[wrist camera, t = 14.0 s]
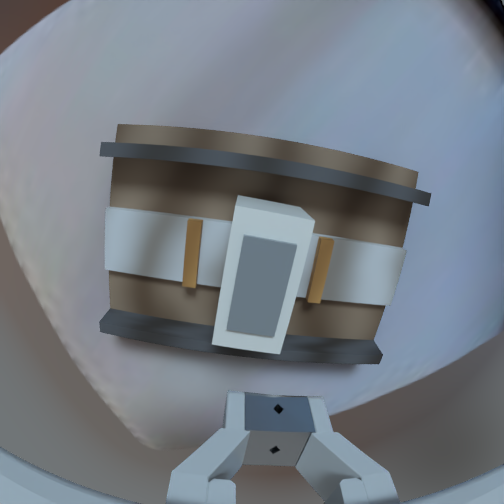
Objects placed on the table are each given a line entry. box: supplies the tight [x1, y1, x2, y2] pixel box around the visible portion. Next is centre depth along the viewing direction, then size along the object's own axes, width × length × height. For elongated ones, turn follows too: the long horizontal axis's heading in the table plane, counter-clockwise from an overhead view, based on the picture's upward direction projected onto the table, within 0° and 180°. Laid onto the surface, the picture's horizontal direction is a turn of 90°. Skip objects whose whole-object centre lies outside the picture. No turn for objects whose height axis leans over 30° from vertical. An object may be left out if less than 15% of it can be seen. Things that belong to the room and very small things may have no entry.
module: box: [212, 195, 315, 354], centre depth 20 cm, size 4×9×5 cm, turn 169°
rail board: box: [99, 124, 431, 364], centre depth 23 cm, size 24×18×4 cm
